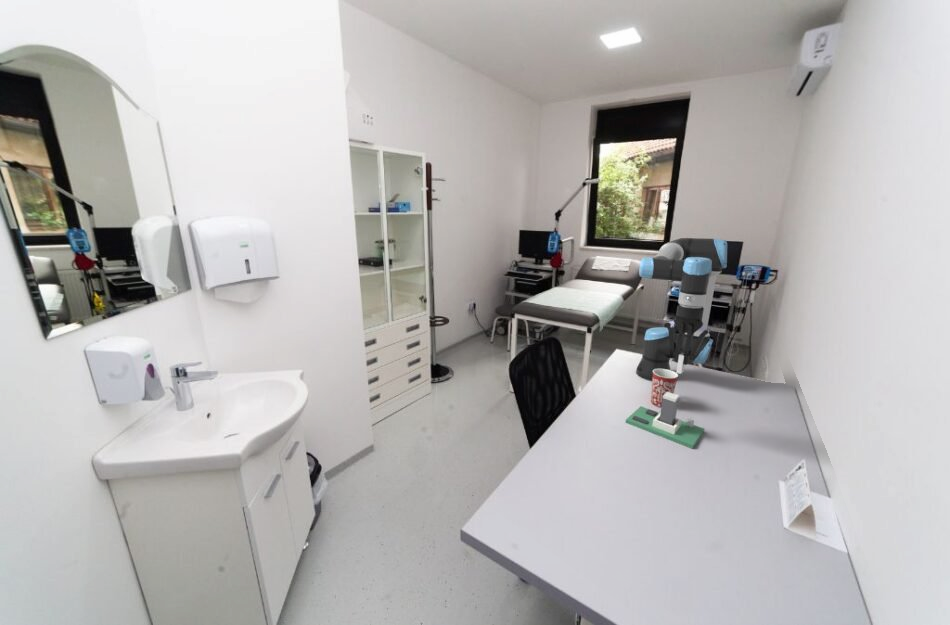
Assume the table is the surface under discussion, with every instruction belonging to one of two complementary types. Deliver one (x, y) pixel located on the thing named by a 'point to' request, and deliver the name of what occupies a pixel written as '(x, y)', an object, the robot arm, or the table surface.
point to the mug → (662, 385)
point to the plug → (669, 408)
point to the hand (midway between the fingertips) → (679, 372)
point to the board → (666, 427)
